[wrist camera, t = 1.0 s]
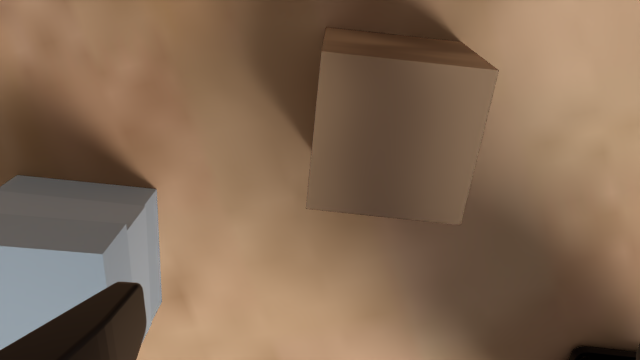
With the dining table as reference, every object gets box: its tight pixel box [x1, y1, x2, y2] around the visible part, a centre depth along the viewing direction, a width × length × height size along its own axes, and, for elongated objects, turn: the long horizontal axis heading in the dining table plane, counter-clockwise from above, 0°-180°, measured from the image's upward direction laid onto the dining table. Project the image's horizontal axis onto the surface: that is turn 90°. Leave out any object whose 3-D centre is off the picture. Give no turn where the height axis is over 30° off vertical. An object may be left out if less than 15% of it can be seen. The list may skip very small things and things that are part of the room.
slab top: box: [0, 214, 132, 350], centre depth 19 cm, size 6×6×2 cm
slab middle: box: [0, 191, 152, 342], centre depth 21 cm, size 6×6×2 cm
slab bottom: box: [0, 175, 162, 322], centre depth 22 cm, size 6×6×2 cm
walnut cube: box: [306, 27, 499, 225], centre depth 17 cm, size 5×5×5 cm
